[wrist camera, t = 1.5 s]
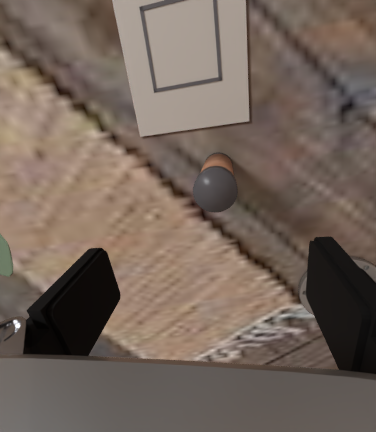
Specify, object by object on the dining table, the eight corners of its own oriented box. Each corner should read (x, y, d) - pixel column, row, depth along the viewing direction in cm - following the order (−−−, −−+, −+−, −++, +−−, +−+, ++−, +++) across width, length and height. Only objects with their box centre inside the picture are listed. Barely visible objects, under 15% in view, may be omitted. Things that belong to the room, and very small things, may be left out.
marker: (232, 150, 31) (236, 167, 20) (233, 179, 33) (238, 210, 22) (201, 153, 32) (190, 172, 21) (205, 182, 33) (195, 213, 23)
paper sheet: (242, -87, 22) (243, -90, 22) (249, 121, 29) (249, 121, 29) (104, -44, 25) (102, -46, 25) (141, 136, 32) (140, 136, 32)
